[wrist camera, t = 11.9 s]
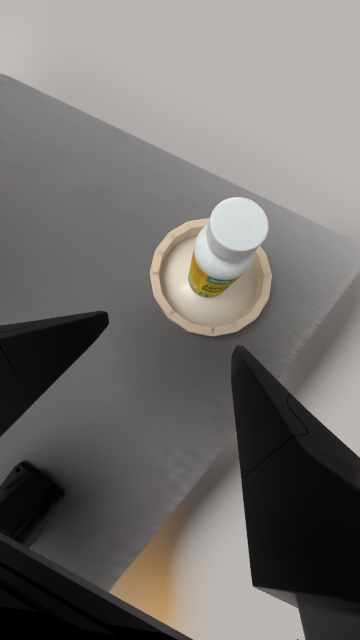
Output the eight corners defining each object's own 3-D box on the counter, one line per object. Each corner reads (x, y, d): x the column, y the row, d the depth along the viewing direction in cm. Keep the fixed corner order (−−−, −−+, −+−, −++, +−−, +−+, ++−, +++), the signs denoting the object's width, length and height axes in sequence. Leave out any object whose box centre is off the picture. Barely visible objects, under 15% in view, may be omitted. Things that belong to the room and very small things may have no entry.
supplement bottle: (219, 257, 19) (264, 179, 10) (231, 293, 19) (291, 249, 9) (182, 266, 19) (190, 195, 9) (193, 303, 18) (214, 269, 9)
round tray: (224, 357, 18) (231, 360, 16) (132, 294, 19) (126, 289, 17) (278, 269, 20) (291, 260, 18) (192, 214, 21) (194, 198, 18)
